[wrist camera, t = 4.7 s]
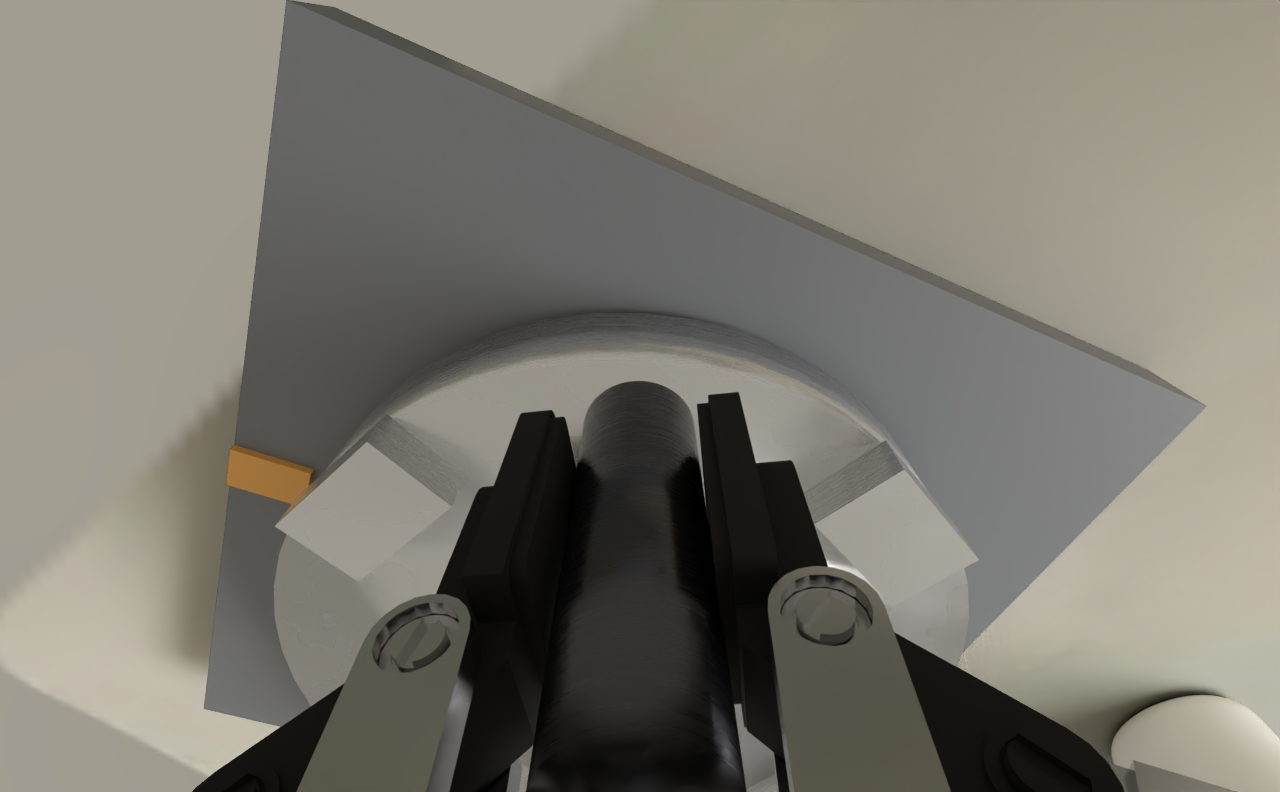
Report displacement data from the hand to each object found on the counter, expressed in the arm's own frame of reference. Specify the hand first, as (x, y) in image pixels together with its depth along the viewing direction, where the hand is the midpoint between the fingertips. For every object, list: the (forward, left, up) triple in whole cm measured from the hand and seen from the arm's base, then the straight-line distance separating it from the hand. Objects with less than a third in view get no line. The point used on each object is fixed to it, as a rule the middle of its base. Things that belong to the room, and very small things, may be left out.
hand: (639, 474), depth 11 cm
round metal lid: (+6, +2, -4) cm, 8 cm away
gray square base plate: (+6, +2, -6) cm, 9 cm away
